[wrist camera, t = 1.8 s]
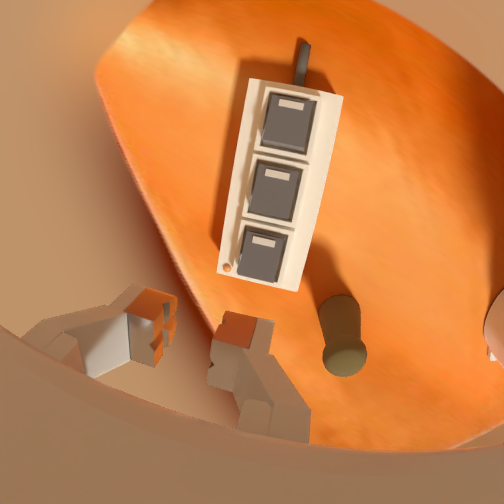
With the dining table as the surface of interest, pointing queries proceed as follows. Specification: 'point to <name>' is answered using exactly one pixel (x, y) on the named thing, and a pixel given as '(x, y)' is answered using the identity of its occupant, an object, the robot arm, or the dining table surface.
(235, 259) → the switch strip
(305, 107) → the rocker
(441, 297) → the dining table surface
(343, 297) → the cork
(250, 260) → the rocker
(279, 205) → the rocker
